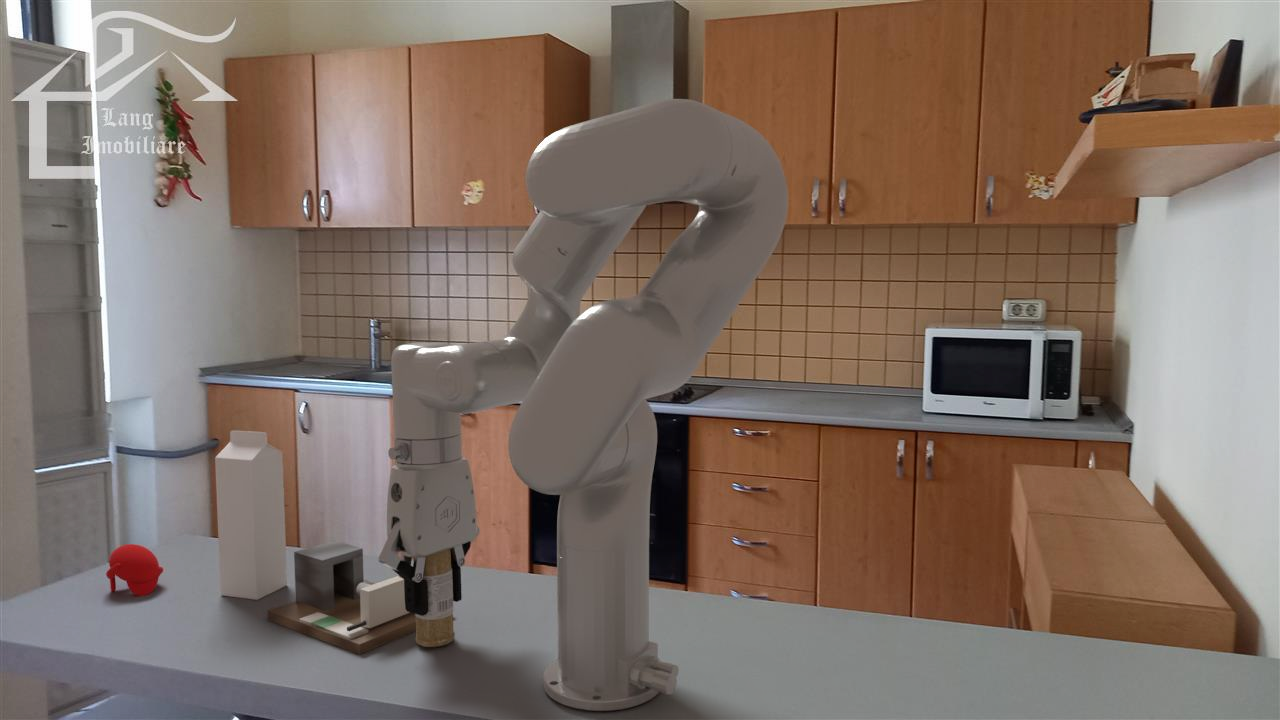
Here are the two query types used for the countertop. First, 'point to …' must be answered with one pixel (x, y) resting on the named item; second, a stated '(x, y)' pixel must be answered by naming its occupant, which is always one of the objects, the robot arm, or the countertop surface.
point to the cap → (134, 568)
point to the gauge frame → (335, 600)
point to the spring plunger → (380, 602)
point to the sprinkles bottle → (437, 602)
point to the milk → (250, 516)
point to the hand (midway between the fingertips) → (433, 604)
